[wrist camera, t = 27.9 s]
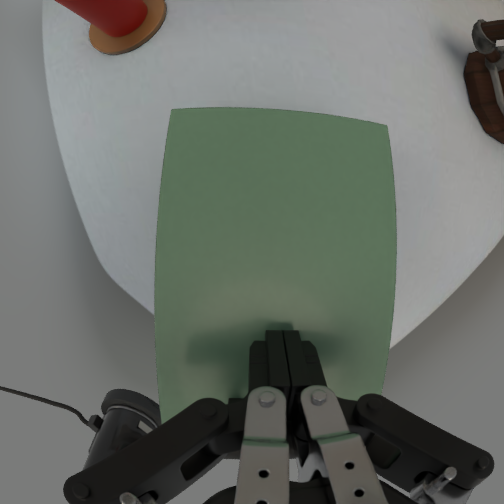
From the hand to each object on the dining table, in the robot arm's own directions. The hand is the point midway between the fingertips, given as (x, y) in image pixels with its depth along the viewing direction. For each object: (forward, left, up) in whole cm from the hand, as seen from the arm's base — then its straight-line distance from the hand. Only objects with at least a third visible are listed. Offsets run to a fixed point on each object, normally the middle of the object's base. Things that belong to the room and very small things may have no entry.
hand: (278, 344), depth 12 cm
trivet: (-1, +26, -13) cm, 30 cm away
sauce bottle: (-1, +26, -13) cm, 29 cm away
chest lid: (+1, +2, -2) cm, 3 cm away
